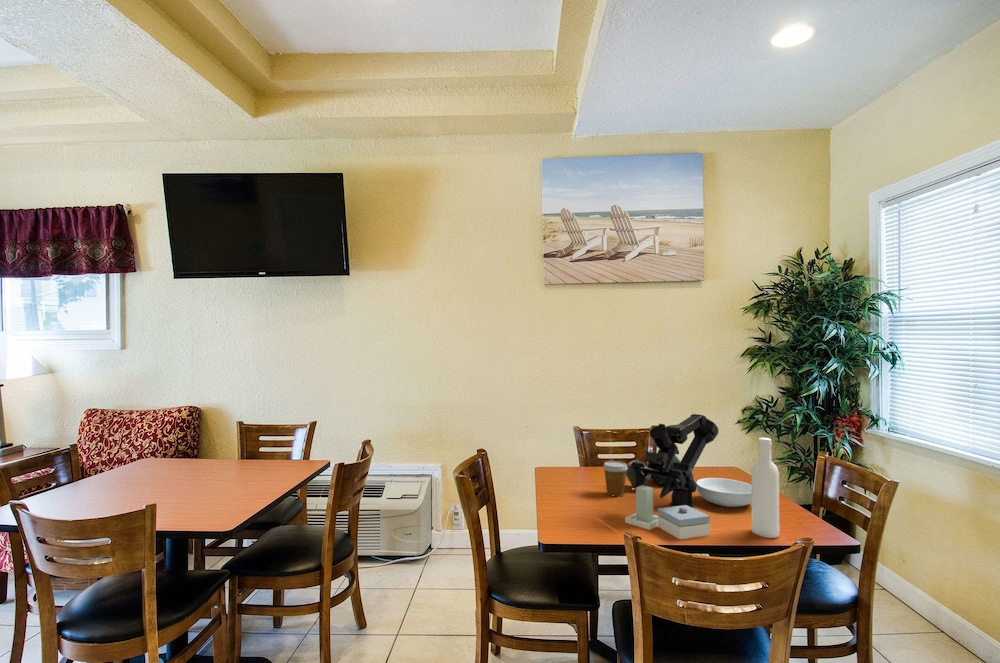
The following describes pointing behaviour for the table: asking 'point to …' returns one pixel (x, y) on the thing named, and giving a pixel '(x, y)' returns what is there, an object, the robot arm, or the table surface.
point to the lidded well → (684, 529)
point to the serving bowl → (725, 491)
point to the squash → (661, 479)
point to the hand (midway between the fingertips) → (648, 494)
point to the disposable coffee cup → (615, 477)
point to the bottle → (765, 493)
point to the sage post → (644, 504)
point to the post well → (633, 521)
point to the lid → (683, 515)
